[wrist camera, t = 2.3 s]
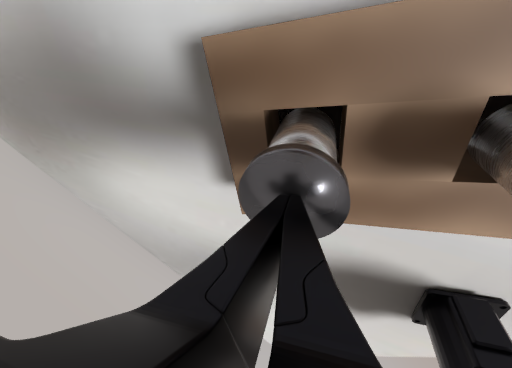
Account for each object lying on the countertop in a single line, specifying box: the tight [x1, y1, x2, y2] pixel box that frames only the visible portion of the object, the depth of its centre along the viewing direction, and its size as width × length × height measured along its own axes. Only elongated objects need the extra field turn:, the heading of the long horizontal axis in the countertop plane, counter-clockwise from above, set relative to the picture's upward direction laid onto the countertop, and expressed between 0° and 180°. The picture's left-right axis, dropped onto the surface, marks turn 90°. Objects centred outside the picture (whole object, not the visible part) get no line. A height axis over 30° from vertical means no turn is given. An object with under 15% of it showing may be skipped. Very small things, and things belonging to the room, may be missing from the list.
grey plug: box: [238, 107, 350, 239], centre depth 11 cm, size 4×4×7 cm
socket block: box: [201, 0, 512, 239], centre depth 13 cm, size 12×20×4 cm, turn 98°
